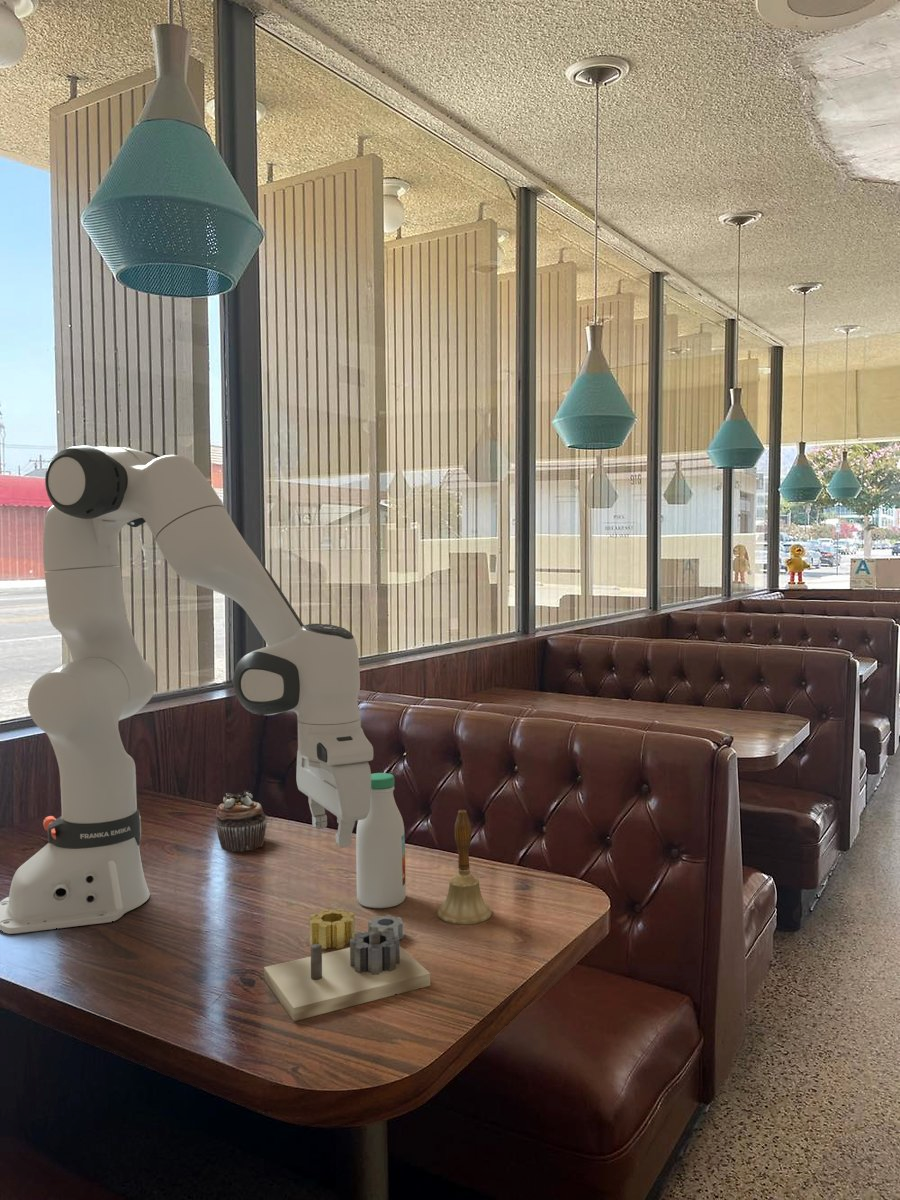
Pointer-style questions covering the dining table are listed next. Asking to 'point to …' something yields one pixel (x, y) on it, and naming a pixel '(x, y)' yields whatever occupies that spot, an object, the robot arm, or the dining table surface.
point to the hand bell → (464, 883)
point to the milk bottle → (381, 848)
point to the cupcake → (240, 822)
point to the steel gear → (374, 952)
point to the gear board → (338, 981)
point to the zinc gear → (388, 925)
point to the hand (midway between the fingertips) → (331, 836)
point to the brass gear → (332, 928)
